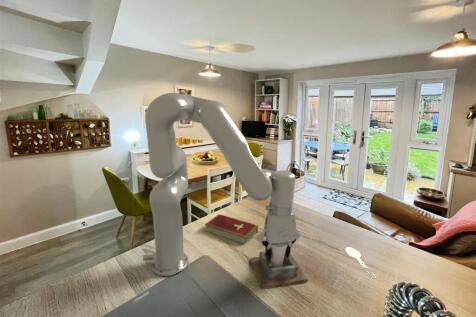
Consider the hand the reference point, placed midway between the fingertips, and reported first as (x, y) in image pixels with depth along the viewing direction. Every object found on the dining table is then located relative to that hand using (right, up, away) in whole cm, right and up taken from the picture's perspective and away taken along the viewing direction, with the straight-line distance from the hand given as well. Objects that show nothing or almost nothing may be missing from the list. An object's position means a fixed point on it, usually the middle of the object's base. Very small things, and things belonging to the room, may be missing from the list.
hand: (277, 255), depth 82 cm
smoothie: (0, -4, +1) cm, 4 cm away
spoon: (+33, -6, +7) cm, 34 cm away
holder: (0, -6, +1) cm, 6 cm away
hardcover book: (-17, 0, +26) cm, 31 cm away
